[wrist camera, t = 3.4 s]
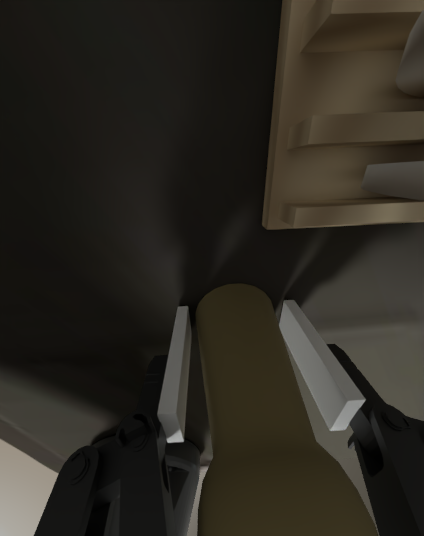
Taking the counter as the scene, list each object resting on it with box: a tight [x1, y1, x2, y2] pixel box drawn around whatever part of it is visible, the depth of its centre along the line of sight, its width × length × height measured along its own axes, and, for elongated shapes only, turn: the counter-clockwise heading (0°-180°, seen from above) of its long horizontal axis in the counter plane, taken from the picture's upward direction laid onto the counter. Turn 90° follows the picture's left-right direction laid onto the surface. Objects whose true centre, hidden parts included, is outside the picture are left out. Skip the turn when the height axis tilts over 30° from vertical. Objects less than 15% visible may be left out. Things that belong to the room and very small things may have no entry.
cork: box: [195, 283, 378, 536], centre depth 9 cm, size 6×6×11 cm
